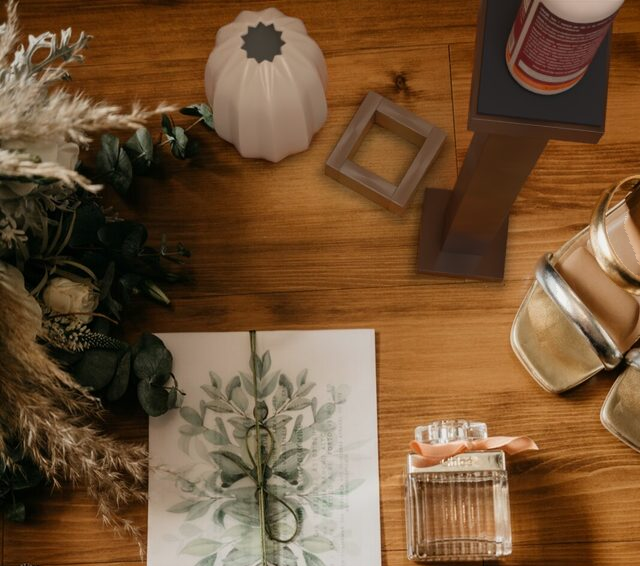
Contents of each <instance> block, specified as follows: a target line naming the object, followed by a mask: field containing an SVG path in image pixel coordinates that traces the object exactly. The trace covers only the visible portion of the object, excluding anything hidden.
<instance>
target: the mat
mask: <svg viewBox="0 0 640 566" xmlns="http://www.w3.org/2000/svg"><path fill="white" fill-rule="evenodd" d="M521 3H522V0H488V1H487V12H486V22H485V33H484V43H483V53H482V64H481V74H480V84H479V95H478V105H477V114H480V115H489V116H499V117H508V118H517V119H527V120H536V121H546V122H555V123H564V124H574V125H583V126H593V127H600V126H601V124H602V112H603V99H604V87H605V74H606V62H607V49H608V37H609V30H608V32H607V33H606V35H605V37H604V39H603V41H602V43H601V44H600V46H599V48H598V50H597V52H596V54H595V55H594V57H593V59H592V61H591V63H590V64H589V66H588V68H587V70H586V72H585V73H584V75H583V76H582V78H581V79H580V80H579V81H578V82H577V83H576V84H575V85H574V86H573V87H571V88H570V89H568V90H566V91H564V92H561V93H557V94H552V95H543V94H538V93H534V92H532V91H529V90H527V89H526V88H524V87H523V86H521V85H520V84H519V83H518V82H517V81H516V80H515V79H514V78H513V76H512V75H511V73H510V71H509V69H508V66H507V62H506V47H507V43H508V39H509V36H510V33H511V31H512V28H513V25H514V22H515V20H516V17H517V14H518V12H519V9H520V6H521Z"/></svg>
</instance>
